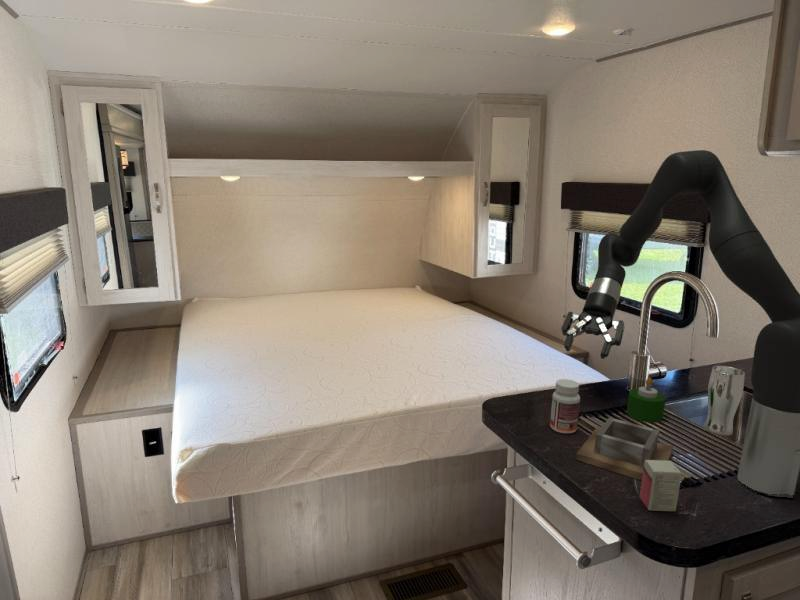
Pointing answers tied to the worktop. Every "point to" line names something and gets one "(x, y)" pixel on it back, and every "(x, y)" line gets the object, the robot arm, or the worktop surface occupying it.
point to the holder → (623, 448)
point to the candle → (646, 403)
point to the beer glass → (723, 399)
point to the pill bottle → (565, 406)
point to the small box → (660, 485)
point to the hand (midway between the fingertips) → (584, 353)
